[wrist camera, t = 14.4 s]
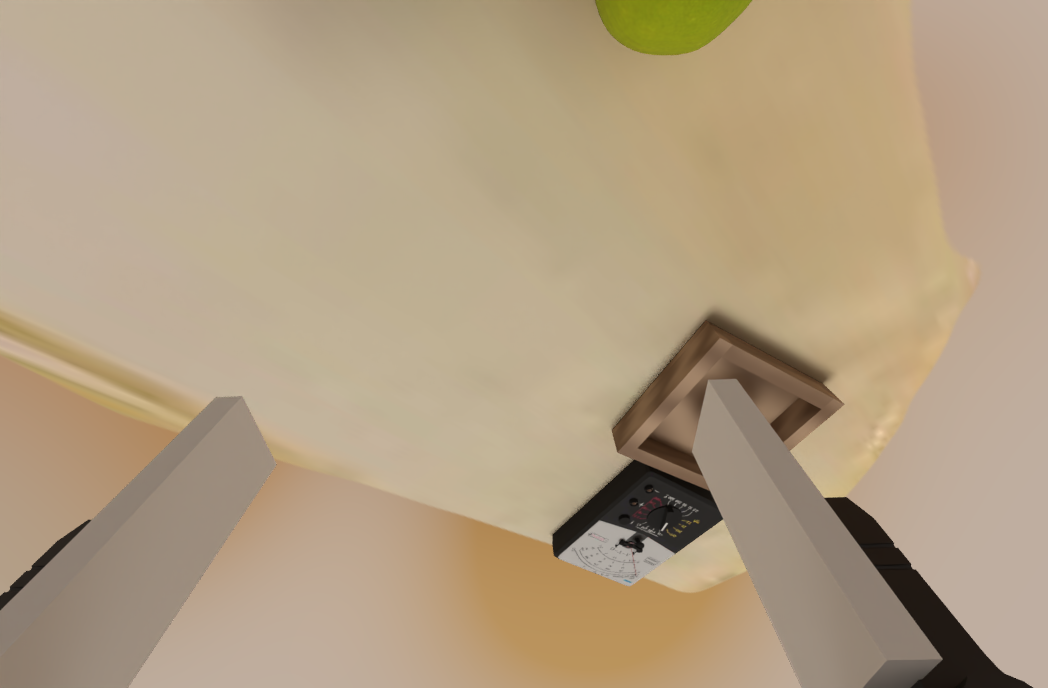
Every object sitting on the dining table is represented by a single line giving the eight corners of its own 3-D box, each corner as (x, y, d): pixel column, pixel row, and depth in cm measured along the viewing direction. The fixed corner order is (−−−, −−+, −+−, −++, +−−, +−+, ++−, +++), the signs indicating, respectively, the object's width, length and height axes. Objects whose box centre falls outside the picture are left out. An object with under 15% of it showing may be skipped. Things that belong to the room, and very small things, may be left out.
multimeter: (721, 488, 53) (738, 523, 49) (623, 563, 61) (631, 598, 57) (642, 448, 49) (654, 481, 45) (550, 533, 58) (552, 568, 53)
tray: (705, 320, 40) (720, 337, 37) (823, 383, 44) (844, 404, 41) (611, 430, 47) (617, 452, 44) (719, 476, 51) (731, 499, 48)
